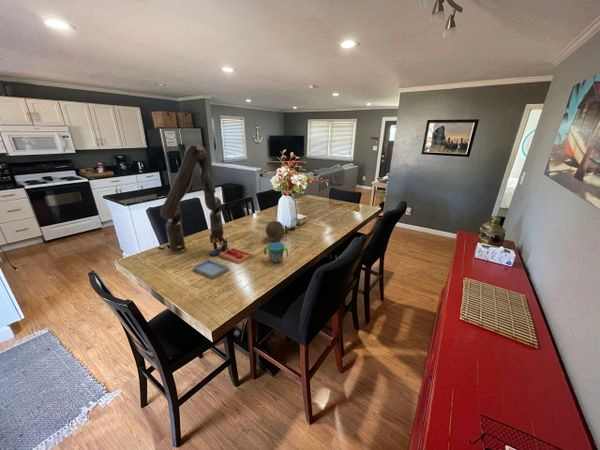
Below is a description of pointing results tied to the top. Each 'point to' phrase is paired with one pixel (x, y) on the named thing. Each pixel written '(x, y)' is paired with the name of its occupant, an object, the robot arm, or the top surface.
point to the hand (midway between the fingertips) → (219, 250)
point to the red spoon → (235, 254)
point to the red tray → (233, 258)
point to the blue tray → (210, 268)
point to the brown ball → (275, 231)
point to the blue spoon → (217, 251)
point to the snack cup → (276, 251)
